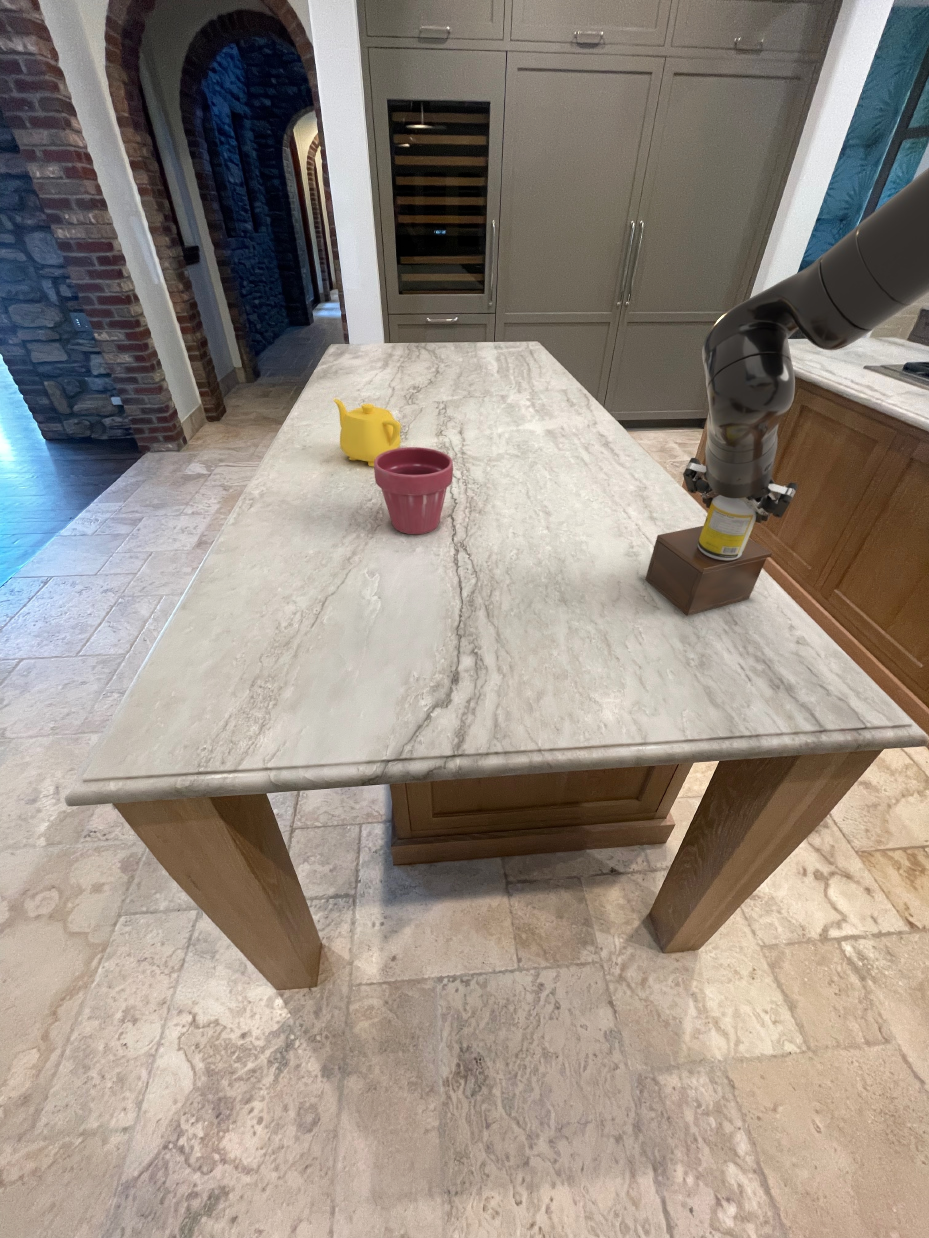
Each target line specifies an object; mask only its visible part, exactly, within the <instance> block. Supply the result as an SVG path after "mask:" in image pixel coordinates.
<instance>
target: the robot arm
mask: <svg viewBox="0 0 929 1238" xmlns="http://www.w3.org/2000/svg"><path fill="white" fill-rule="evenodd" d="M928 294H929V167H927V168H926V169H925V170H924V171H922V172H921V173H920V174H919V175H918V176H916V177H914V179H913V180H911V181H910V182H909V183H908V184H906V185H905V186H904V187H902V188H901V189H900V190H898V192H896V193H895V194H894V195H893V196H892V197H890V198H889V199H887V201H885V202H884V203H883V204H882V205H881V206H879V207H878V208H877V209H876V210H874V211H873V212H872V213H871V214H870V215H868V216H867V217H865V218H864V219H863V220H862V221H861V222H860V223H858V224H857V225H856V226H855V227H854V228H853V229H851V230H850V231H848V233H847V234H846V235H844V236H843V237H842V238H841V239H840V240H838V241H837V242H836V243H834V245H832V246H831V247H830V248H829V249H827V251H825V252H824V253H823V254H821V255H820V257H818V258H817V259H816V260H815V261H813V263H811V264H810V265H809V266H807V267H806V268H804V269H802V270H800V271H799V272H796V273H794V274H793V275H791V276H789V277H787V278H785V279H783V280H781V281H779V282H777V283H776V284H774V285H771V286H770V287H768V288H767V289H765V290H763V291H761V292H759V293H757V294H755V295H754V296H752V297H750V298H748V299H746V300H744V301H742V302H740V303H738V304H736V305H735V306H733V307H732V308H730V309H729V310H727V311H726V312H725V313H724V314H723V315H721V316H720V317H719V318H718V319H717V320H716V321H715V323H714V324H713V325H712V327H711V328H710V329H709V331H708V333H707V335H706V336H705V339H704V341H703V344H702V349H701V359H702V365H703V371H704V379H705V385H706V391H707V393H706V394H707V399H708V407H709V410H708V414H707V419H706V442H705V449H704V457H705V465H704V464H703V463H701V462H700V459H699V458H697V457H691V458H690V459H689V461H688V463H687V465H686V467H685V469H684V471H683V473H682V477H683V480H684V483H685V486H686V489H687V491H688V492H689V493H691V494H697V493H699V494H700V495H699V496H700V497H701V498H702V499H701V500H702V504H704V505H705V508H706V509H709V508H710V505H711V502H712V499H713V498H715V497H717V496H719V495H721V496H724V497H727V498H738V499H739V500H743V502H744V503H745V504H746V505H747V506H748V507H749V508H750V509H755V510H756V511H757V515H756V521H755V523H758V524H761V523H762V522H768V520H769V518H770V516H771V515H772V516H773V517H775V518H778V519H779V518H780V519H781V518H783V516H784V514H785V513H786V511H787V509H788V507H789V506H790V504H791V502H792V500H793V498H794V496H795V494H796V493H797V490H798V488H799V485H798V484H797V483H795V482H788V483H787V485H780V484H776V483H775V480H774V478H773V477H772V476H773V470H774V465H775V460H776V455H777V450H778V443H779V442H778V441H779V437H778V431H779V426H780V423H781V422H782V420H783V419H784V417H785V416H786V414H787V413H788V411H789V410H790V409H791V407H792V405H793V402H794V400H795V399H794V398H795V392H796V391H795V390H796V377H795V371H794V366H793V360H792V355H791V351H790V344H789V339H790V337H792V335H793V334H794V333H796V332H797V331H800V332H801V334H802V335H803V336H804V338H805V339H806V340H807V341H808V342H810V343H811V344H812V345H813V346H814V347H817V348H818V349H822V350H824V351H837V350H841V349H844V348H845V347H847V346H849V345H852V344H853V343H855V342H856V341H858V340H860V339H861V338H863V337H864V336H866V335H867V334H868V333H870V332H872V331H873V330H874V329H876V328H878V327H880V326H881V325H883V324H884V323H886V322H887V321H889V320H890V319H892V318H893V317H895V316H896V315H898V314H899V313H901V312H902V311H904V310H905V309H907V308H909V307H910V306H912V305H913V304H915V303H916V302H917V301H919V300H921V299H922V298H923V297H925V296H926V295H928Z"/></svg>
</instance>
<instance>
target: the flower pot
mask: <svg viewBox="0 0 929 1238" xmlns="http://www.w3.org/2000/svg"><path fill="white" fill-rule="evenodd" d="M373 471H374V480H375V484H376V485H377V487H379V488H380V489H381V492H382V497H383V498H384V499H383V500H384V502H385V505H386V508H387V511H388V515H389V519H390V522H391V524H392V527H393V528H394V529H395V530H396V531H398V532H400V533H403V534H407V535H423V534H428V533H430V532H433V531H434V530H436V529H437V528H438V526H439V523H440V519H441V517H442V513H443V512H442V511H443V507H444V504H445V499H446V495H447V489H448V488H449V486H450V485H451V484H452V482H453V478H454V477H453V474H454V464H453V459H452V457H451V456H450V455H449V454H447V453H445V452H443V451H440V450H437V449H434V448H428V447H422V446H421V447H418V446H408V447H407V446H406V447H399V448H397V449H392V450H389V451H386V452H384V453H382V454H380V455H378V456H377V457H376V458H375V460H374V466H373Z"/></svg>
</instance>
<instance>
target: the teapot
mask: <svg viewBox="0 0 929 1238" xmlns="http://www.w3.org/2000/svg"><path fill="white" fill-rule="evenodd" d="M333 401H334V403H335V404H336V406H337V408H338V413H339V424H340V434H339V446H340V449H341V450H342V452H343V453H344V455H346V456H347V457H349V458H348V460H349V461H363V462H367V465H368V466H369V467H374V460H375V458H376V457H377V456H378V455H380V454H382V453H384V452H386V451H389V450H392V449H397V448H400V446H401V443H402V441H401V440H402V439H401V430H402V425H401V423H400V422H399V421H398V420H396V419H395V418H394V415H393V414H392V412H391V410H388V409H386V408H383V407H379V406H375V405H374V404H372V403H362V404H361V405H360V407H357V408H354V409H351V410H350V411H348V410H347V408H346V406H345V404H344V402H342V400H340V399H338V398H333Z"/></svg>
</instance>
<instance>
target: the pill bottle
mask: <svg viewBox="0 0 929 1238" xmlns="http://www.w3.org/2000/svg"><path fill="white" fill-rule="evenodd" d="M756 515H757V511H756V510H755V509H750V508H749V507H748V506H747V505H746V504H745V503H744V502H743V500H739V499H738V498H727V497H724V496H721V495H719V496H717V497H715V498H713V499H712V502H711V505H710V508H708V512H707V514H706V516H705V517H706V518H705V521H704V523H703V525H702V526H703V529H702V532H701V535H700V538H699V541H698V547H699V549H700V551H701V552H702V553H704V554H705V555H707V556H709V557H711V558H714V559H718V560H734V559H737V558H739V557H740V556H741V555H742V553H743V551H744V549H745V546H746V544H747V541H748V539H750V536H751V534H752V531H753V528H754V526H755V524H756V522H755V521H756Z"/></svg>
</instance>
